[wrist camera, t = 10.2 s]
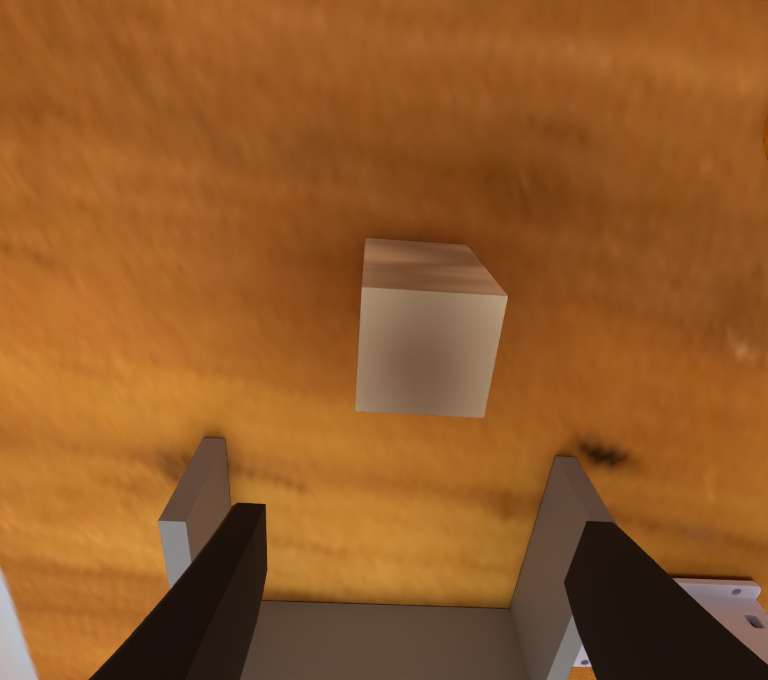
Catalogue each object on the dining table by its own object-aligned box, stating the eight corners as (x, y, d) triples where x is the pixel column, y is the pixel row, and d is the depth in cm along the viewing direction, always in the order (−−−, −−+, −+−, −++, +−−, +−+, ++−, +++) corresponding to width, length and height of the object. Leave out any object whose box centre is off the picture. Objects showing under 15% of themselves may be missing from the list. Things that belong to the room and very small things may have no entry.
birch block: (467, 244, 18) (508, 296, 12) (453, 336, 20) (483, 417, 14) (365, 237, 18) (361, 287, 12) (360, 331, 19) (354, 411, 14)
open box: (575, 457, 22) (626, 540, 18) (522, 620, 28) (551, 716, 23) (203, 437, 21) (158, 520, 17) (221, 610, 27) (190, 709, 22)
